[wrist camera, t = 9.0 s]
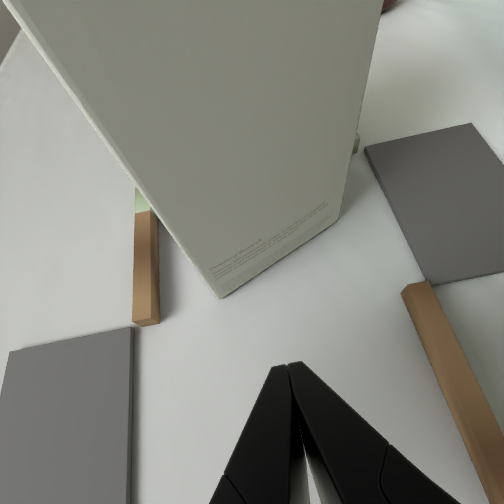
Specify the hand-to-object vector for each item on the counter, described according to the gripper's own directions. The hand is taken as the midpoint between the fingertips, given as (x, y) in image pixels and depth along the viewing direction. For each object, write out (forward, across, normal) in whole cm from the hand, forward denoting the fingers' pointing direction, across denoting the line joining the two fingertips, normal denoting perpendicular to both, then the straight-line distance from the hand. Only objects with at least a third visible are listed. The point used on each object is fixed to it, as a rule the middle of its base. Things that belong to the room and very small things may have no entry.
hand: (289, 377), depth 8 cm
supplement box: (+13, +1, -3) cm, 13 cm away
